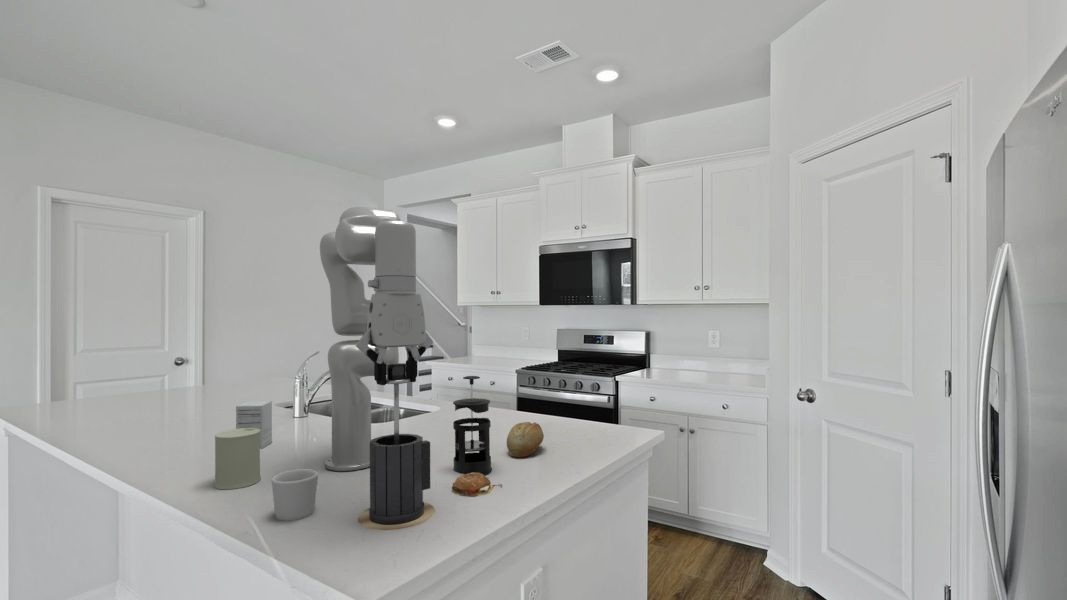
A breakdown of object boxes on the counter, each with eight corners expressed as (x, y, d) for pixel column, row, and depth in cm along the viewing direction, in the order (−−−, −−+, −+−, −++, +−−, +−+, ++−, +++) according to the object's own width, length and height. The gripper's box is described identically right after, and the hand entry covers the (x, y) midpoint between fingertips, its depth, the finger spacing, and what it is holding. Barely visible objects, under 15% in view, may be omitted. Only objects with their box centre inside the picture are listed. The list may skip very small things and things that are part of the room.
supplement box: (246, 443, 151) (246, 401, 152) (272, 442, 152) (272, 400, 152) (235, 450, 144) (235, 405, 144) (262, 449, 145) (262, 404, 145)
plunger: (375, 477, 95) (374, 364, 96) (405, 471, 99) (404, 361, 99) (387, 485, 91) (387, 366, 91) (418, 478, 94) (417, 364, 95)
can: (269, 478, 119) (269, 427, 119) (235, 491, 110) (235, 436, 110) (240, 474, 122) (240, 424, 122) (204, 487, 113) (204, 433, 113)
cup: (287, 505, 102) (287, 465, 102) (328, 503, 103) (328, 463, 103) (263, 527, 91) (263, 483, 91) (309, 525, 92) (309, 481, 92)
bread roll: (548, 445, 145) (547, 417, 145) (537, 460, 131) (537, 429, 131) (515, 444, 147) (515, 416, 147) (501, 458, 133) (501, 428, 133)
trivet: (346, 516, 96) (346, 512, 96) (415, 498, 104) (415, 494, 104) (374, 542, 85) (374, 537, 85) (448, 519, 93) (448, 515, 93)
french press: (476, 480, 115) (475, 379, 116) (443, 475, 119) (442, 377, 120) (502, 466, 126) (501, 373, 126) (470, 461, 130) (470, 372, 130)
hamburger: (504, 506, 101) (504, 476, 101) (437, 503, 103) (437, 473, 103) (517, 483, 115) (516, 456, 115) (457, 480, 117) (457, 454, 117)
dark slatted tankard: (361, 512, 95) (360, 439, 96) (417, 498, 103) (417, 429, 103) (381, 530, 88) (381, 450, 88) (440, 513, 95) (440, 439, 95)
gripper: (357, 284, 87) (358, 390, 87) (445, 287, 98) (446, 380, 98) (343, 287, 93) (343, 385, 93) (427, 288, 104) (428, 377, 103)
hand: (396, 381), depth 95 cm, fingers closed on plunger, 5 cm apart
